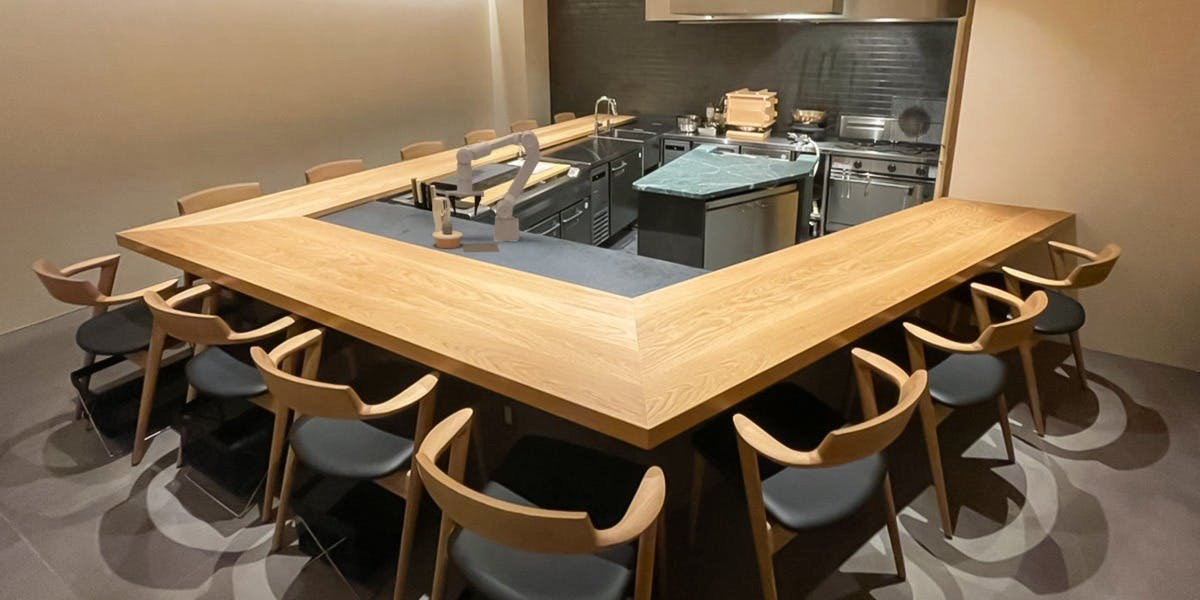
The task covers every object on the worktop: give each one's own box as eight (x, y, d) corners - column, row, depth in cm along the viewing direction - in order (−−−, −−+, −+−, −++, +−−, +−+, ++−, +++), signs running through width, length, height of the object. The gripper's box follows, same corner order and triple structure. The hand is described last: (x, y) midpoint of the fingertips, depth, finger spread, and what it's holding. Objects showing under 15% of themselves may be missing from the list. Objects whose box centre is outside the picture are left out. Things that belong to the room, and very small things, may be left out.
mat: (496, 244, 260) (496, 243, 259) (499, 252, 248) (499, 251, 247) (462, 244, 257) (462, 243, 256) (463, 253, 245) (463, 251, 244)
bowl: (459, 243, 258) (459, 233, 257) (460, 248, 250) (459, 238, 249) (436, 243, 256) (435, 233, 255) (435, 249, 248) (435, 238, 247)
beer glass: (453, 234, 272) (452, 197, 268) (448, 238, 266) (446, 200, 261) (436, 233, 273) (435, 196, 268) (430, 236, 266) (429, 199, 261)
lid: (461, 232, 258) (461, 220, 257) (463, 239, 248) (463, 226, 246) (432, 232, 255) (431, 220, 254) (432, 239, 245) (432, 226, 244)
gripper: (445, 181, 251) (446, 217, 255) (484, 181, 254) (484, 217, 259) (445, 178, 258) (446, 213, 262) (483, 179, 261) (483, 213, 265)
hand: (465, 215), depth 261 cm, fingers open, 7 cm apart
